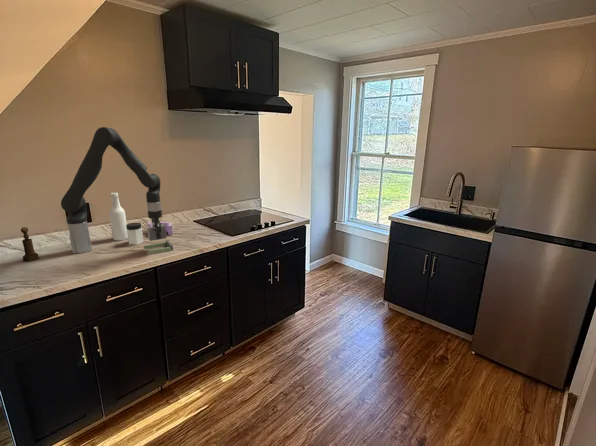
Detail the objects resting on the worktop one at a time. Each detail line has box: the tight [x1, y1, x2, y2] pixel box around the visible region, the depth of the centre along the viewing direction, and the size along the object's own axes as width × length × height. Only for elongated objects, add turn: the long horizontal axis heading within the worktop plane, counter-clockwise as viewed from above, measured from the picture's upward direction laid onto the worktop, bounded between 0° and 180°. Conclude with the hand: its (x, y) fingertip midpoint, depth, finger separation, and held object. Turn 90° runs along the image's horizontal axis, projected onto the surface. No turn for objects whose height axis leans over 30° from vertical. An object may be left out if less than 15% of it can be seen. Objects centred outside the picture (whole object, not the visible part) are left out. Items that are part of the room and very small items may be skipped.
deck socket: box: [143, 239, 174, 255], centre depth 186 cm, size 14×11×3 cm
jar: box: [126, 222, 144, 246], centre depth 196 cm, size 9×8×12 cm
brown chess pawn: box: [20, 226, 40, 262], centre depth 167 cm, size 7×6×18 cm
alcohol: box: [108, 192, 128, 242], centre depth 200 cm, size 9×9×30 cm
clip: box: [147, 220, 174, 236], centre depth 215 cm, size 20×12×7 cm, turn 53°
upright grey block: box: [146, 224, 167, 242], centre depth 184 cm, size 9×5×8 cm, turn 125°
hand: (157, 237), depth 185 cm, fingers closed on upright grey block, 5 cm apart
